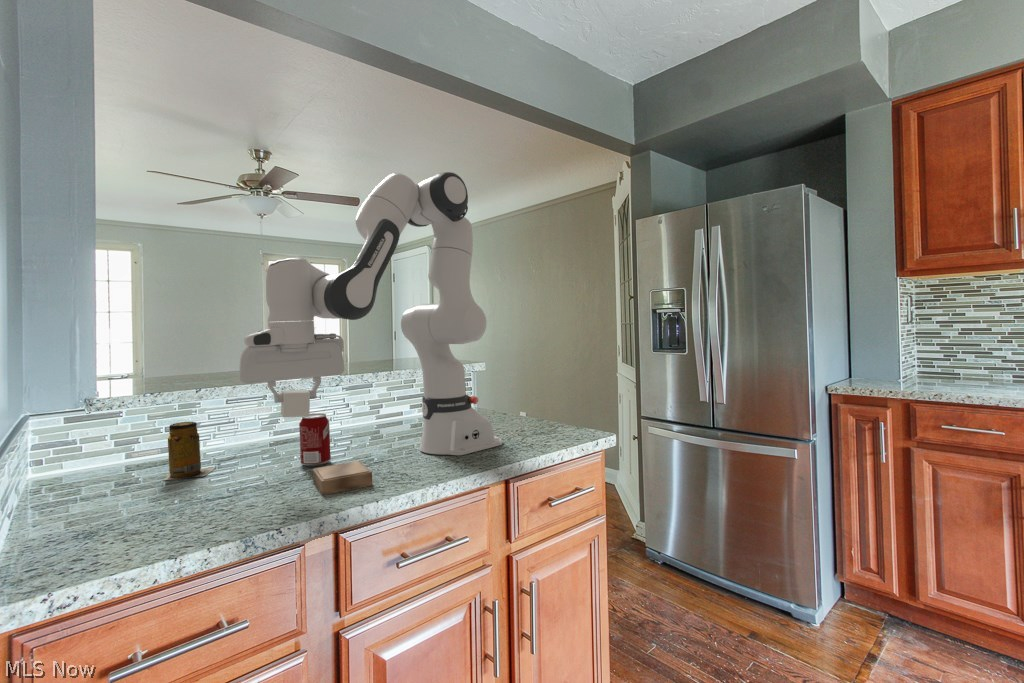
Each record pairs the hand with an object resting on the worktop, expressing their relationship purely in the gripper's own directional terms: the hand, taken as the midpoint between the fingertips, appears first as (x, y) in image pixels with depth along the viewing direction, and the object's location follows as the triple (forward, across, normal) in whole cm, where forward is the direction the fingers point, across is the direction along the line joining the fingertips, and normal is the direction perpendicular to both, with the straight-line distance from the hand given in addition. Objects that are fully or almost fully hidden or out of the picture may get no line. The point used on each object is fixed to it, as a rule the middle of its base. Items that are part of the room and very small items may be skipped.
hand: (295, 400), depth 102 cm
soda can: (+18, -6, -14) cm, 24 cm away
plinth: (+18, -8, +5) cm, 20 cm away
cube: (+3, 0, 0) cm, 3 cm away
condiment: (+18, +20, -23) cm, 36 cm away
